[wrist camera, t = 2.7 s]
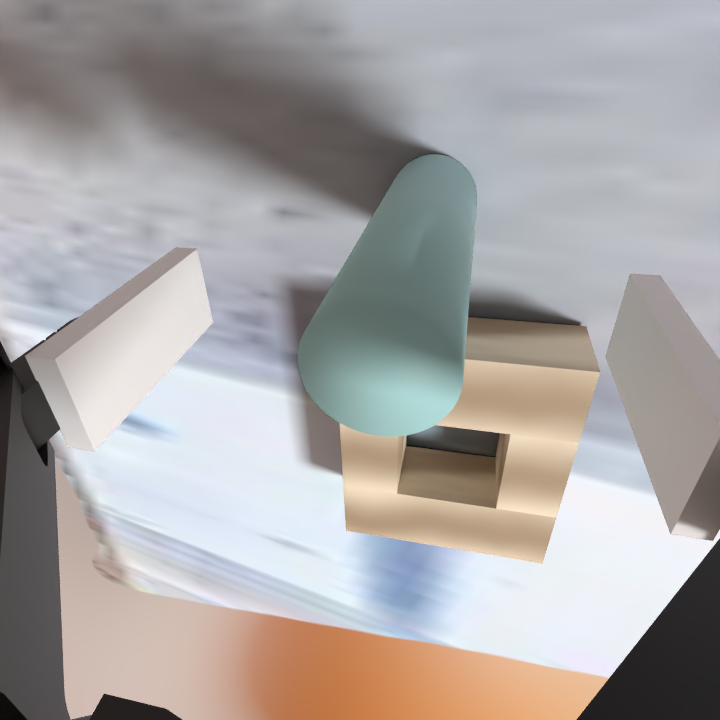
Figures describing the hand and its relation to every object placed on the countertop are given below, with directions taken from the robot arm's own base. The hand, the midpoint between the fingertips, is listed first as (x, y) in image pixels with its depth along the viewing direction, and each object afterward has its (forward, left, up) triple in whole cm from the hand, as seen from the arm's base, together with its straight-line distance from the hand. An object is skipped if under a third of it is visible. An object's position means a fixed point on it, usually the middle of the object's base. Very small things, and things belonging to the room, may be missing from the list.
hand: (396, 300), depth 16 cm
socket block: (+13, +2, -10) cm, 16 cm away
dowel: (0, 0, -10) cm, 10 cm away
